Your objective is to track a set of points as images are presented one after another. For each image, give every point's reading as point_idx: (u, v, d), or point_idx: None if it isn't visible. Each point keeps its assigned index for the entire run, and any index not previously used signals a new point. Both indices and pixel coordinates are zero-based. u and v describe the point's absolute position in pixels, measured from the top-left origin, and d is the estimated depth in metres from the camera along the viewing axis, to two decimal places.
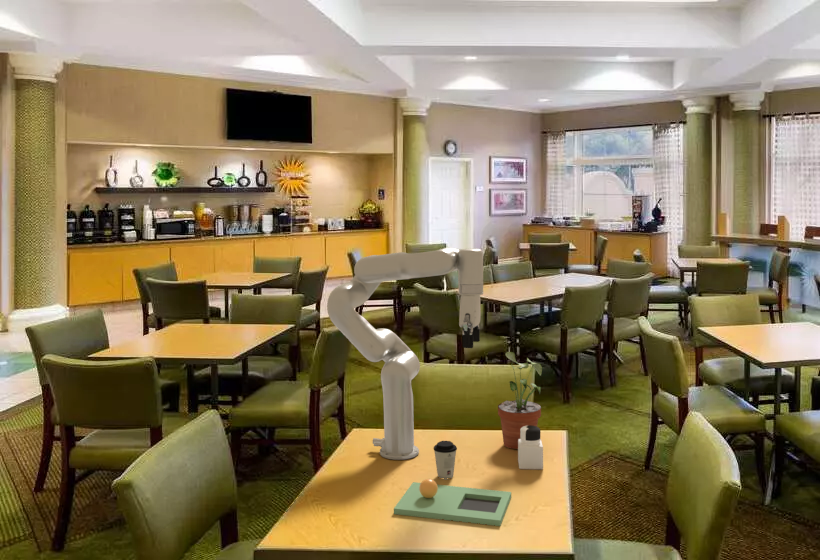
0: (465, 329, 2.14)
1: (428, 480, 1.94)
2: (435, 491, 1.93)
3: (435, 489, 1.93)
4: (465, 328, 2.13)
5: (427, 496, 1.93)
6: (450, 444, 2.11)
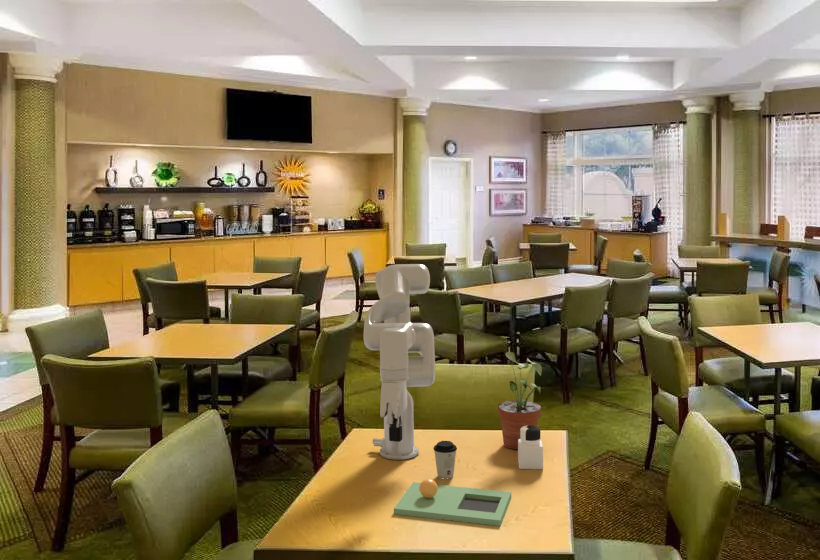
0: (391, 423, 1.92)
1: (428, 480, 1.94)
2: (435, 491, 1.93)
3: (435, 489, 1.93)
4: (391, 423, 1.91)
5: (427, 496, 1.93)
6: (450, 444, 2.11)
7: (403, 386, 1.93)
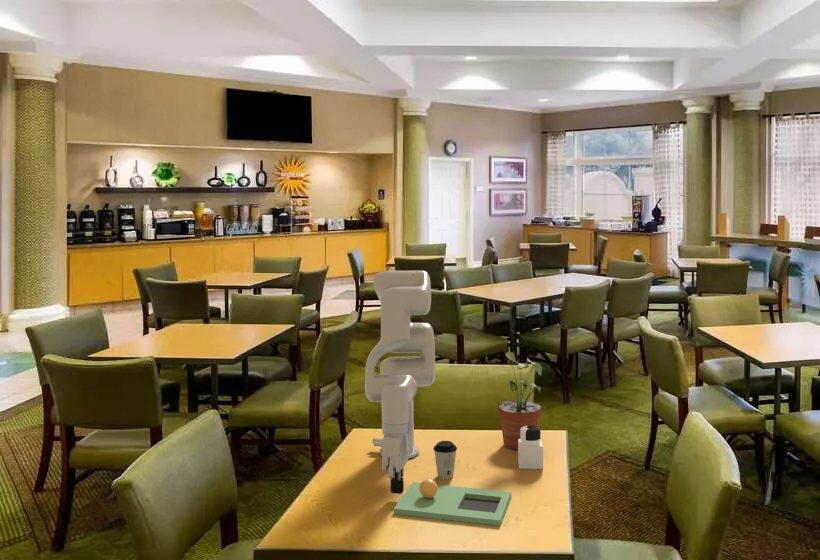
0: None
1: (428, 480, 1.94)
2: (435, 491, 1.93)
3: (435, 489, 1.93)
4: None
5: (427, 496, 1.93)
6: (450, 444, 2.11)
7: (404, 439, 1.95)
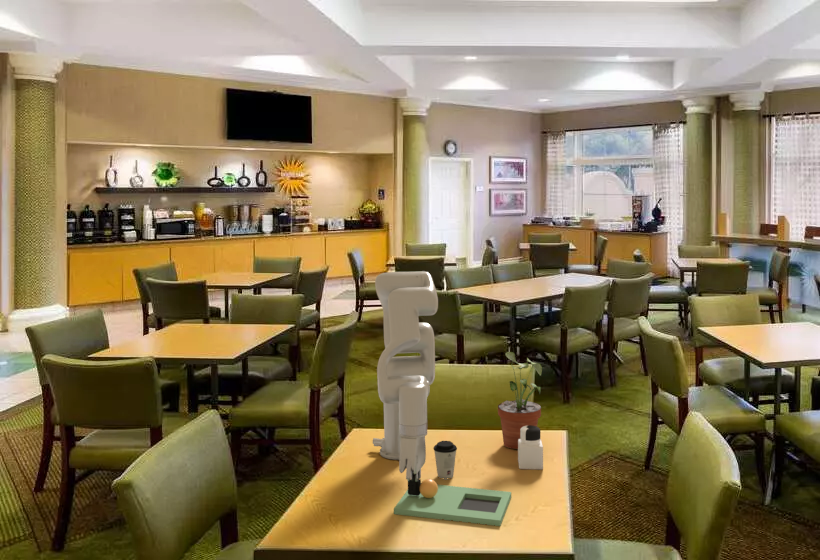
0: None
1: (428, 480, 1.94)
2: (435, 491, 1.93)
3: (435, 489, 1.93)
4: None
5: (427, 496, 1.93)
6: (450, 444, 2.11)
7: (422, 441, 1.93)
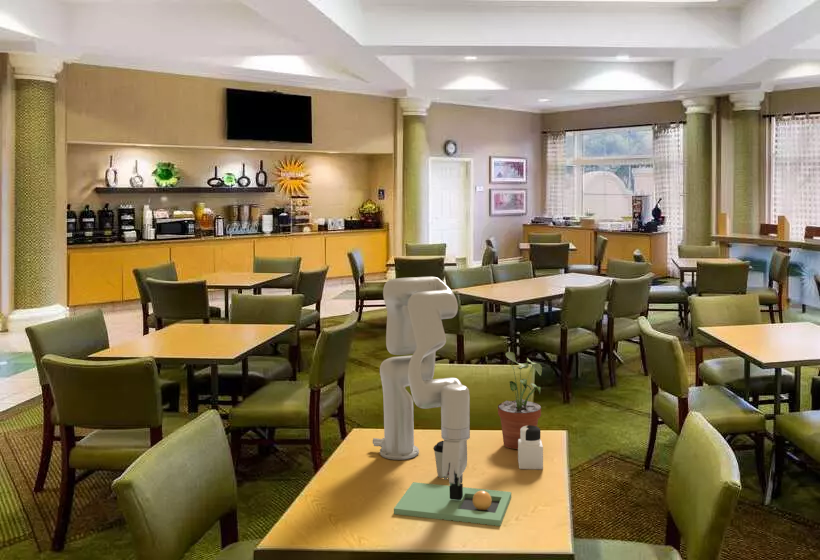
0: None
1: (481, 492, 1.89)
2: (490, 501, 1.88)
3: (490, 499, 1.88)
4: None
5: (483, 508, 1.87)
6: None
7: (464, 444, 1.90)
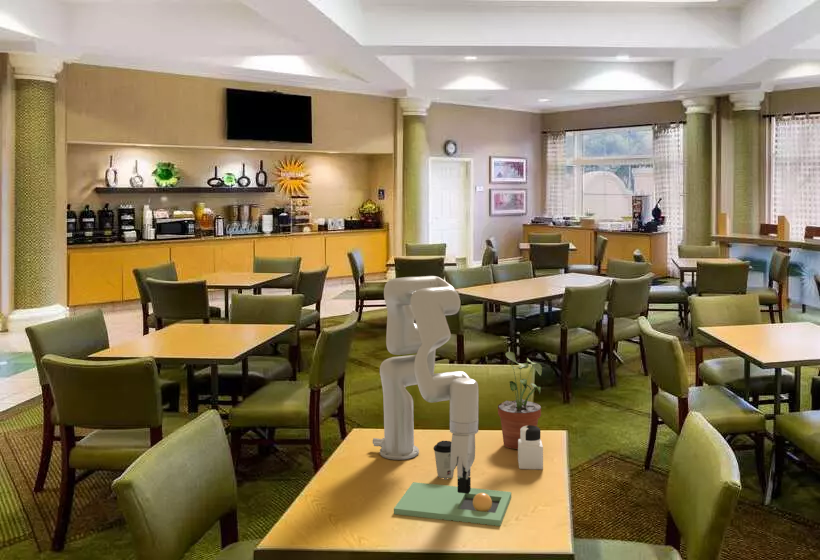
0: None
1: (481, 497, 1.86)
2: (490, 505, 1.87)
3: (490, 504, 1.86)
4: None
5: None
6: (450, 444, 2.11)
7: (473, 438, 1.89)
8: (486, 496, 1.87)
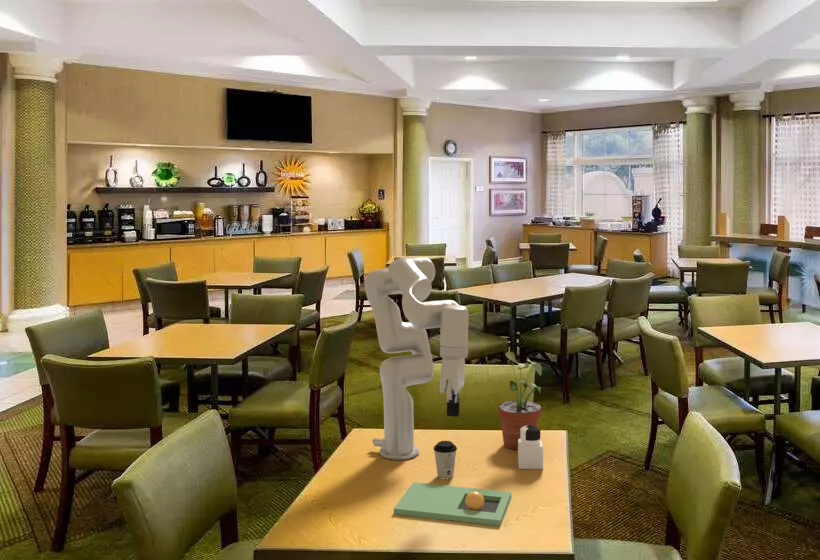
0: None
1: (468, 496, 1.88)
2: (481, 496, 1.88)
3: (479, 495, 1.88)
4: (450, 399, 1.95)
5: (481, 506, 1.87)
6: (450, 444, 2.11)
7: (462, 363, 1.96)
8: (471, 492, 1.89)
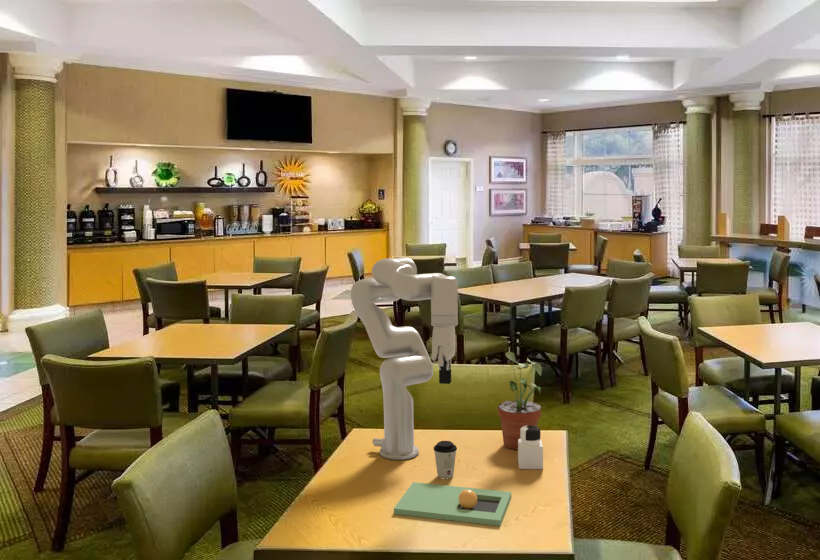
0: (442, 366, 2.03)
1: (458, 498, 1.90)
2: (468, 490, 1.90)
3: (466, 490, 1.90)
4: (441, 366, 2.03)
5: (473, 497, 1.88)
6: (450, 444, 2.11)
7: (453, 331, 2.04)
8: None
